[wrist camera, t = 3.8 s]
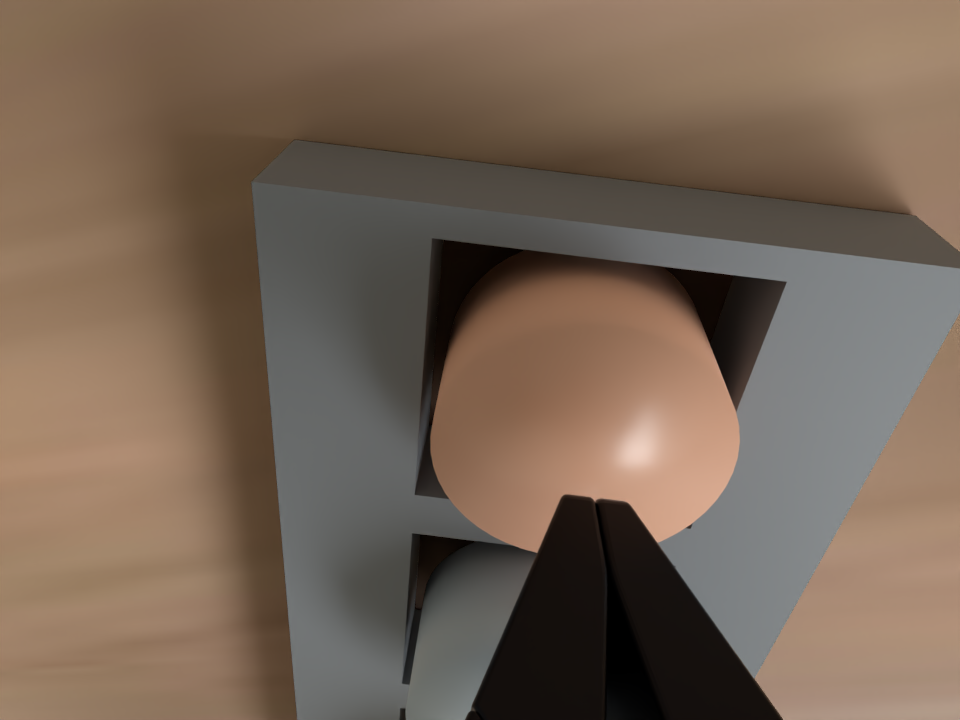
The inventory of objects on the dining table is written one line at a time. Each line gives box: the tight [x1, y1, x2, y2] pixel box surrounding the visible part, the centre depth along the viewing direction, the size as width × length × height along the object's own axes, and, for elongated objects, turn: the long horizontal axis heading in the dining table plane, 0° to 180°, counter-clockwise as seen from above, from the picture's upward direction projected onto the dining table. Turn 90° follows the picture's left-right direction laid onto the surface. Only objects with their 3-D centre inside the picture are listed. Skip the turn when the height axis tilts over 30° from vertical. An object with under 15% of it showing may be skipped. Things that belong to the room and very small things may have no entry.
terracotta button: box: [430, 250, 740, 553], centre depth 11 cm, size 4×4×3 cm
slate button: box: [405, 541, 537, 720], centre depth 14 cm, size 4×4×3 cm
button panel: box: [251, 140, 960, 720], centre depth 15 cm, size 18×10×2 cm, turn 174°
